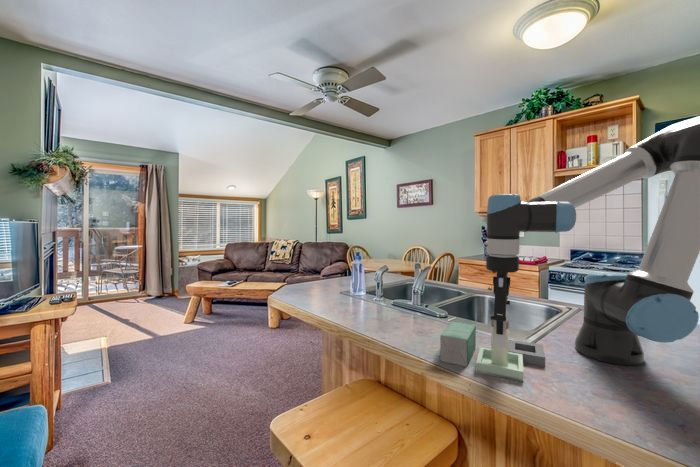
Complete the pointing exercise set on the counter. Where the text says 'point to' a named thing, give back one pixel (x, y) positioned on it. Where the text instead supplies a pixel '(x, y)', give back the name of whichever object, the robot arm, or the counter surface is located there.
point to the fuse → (499, 349)
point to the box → (458, 343)
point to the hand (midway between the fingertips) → (500, 336)
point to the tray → (510, 372)
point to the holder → (528, 352)
